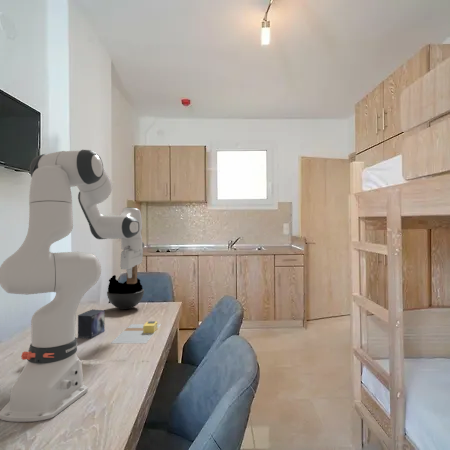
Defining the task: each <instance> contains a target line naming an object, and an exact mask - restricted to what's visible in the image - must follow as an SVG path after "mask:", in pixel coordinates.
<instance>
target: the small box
mask: <svg viewBox="0 0 450 450" xmlns="http://www.w3.org/2000/svg"><path fill="white" fill-rule="evenodd" d="M105 311H106V310H104V309H103V310H102V309H90V310H88V311H85V312H83V313H81V314H78V315H77V338H78V339H87V340H88V339H90V340H91V339H93V338H96V336H99V335H101V334H102V333H104V332H105V331H106V330H105V327H106V326H105Z"/></svg>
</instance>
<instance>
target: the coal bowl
mask: <svg viewBox="0 0 450 450" xmlns="http://www.w3.org/2000/svg"><path fill="white" fill-rule="evenodd" d="M144 294H145V289H144V288H143V285H142V283H141V280H140V278H138V277H137V283H135V284H127V280H126V281H124V282H120V281H119V280H117V276H116V275H115V274H114V275H112V276H111V277H110V278H109V280H108V286H107V291H106V296H107V299H108V302H110V303H111V304H112V306H114V307H115V308H117V309H120V310H129V309H133V308H135V307H136V306H138V304H140V302H141V301H142V299H143V297H144Z"/></svg>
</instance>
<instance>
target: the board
mask: <svg viewBox="0 0 450 450" xmlns="http://www.w3.org/2000/svg"><path fill="white" fill-rule="evenodd" d="M144 324H145V323H144ZM144 324H143V323H141V324H140V323H131V324H130V325H129V326H128V327H126V329H124V330H122V332H121V333H120V334H119V335H118V336H116V338H114V339H113V340H112V341H111V342H110V344H147V343H148V342H149V341H150V339H151V338H152V337H153V336H154V334H156V332H157V331H158V329H159V328H160V327H161V325H162V324H161V323H157V330H156V331H155V332H154V333H143V326H144Z"/></svg>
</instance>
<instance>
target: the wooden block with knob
mask: <svg viewBox="0 0 450 450" xmlns="http://www.w3.org/2000/svg"><path fill="white" fill-rule="evenodd" d="M132 273H133V277H132V278H128V274H127V273H126V281H127V284H135V283H137V278H138V265H135V266H134V267H132Z"/></svg>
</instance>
